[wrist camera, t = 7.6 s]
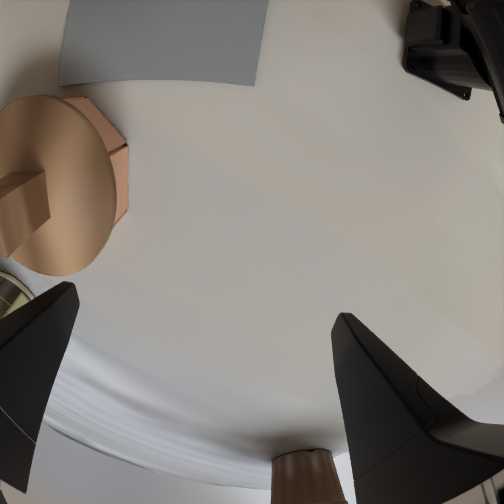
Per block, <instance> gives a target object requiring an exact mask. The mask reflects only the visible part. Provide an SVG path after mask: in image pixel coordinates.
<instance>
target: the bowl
mask: <svg viewBox="0 0 504 504" xmlns="http://www.w3.org/2000/svg"><path fill="white" fill-rule="evenodd" d="M63 100H65V101H67V102H68V103H70V104H72V105H73V106H75V107H76V108H77V109H79V110H80V111H81V112H82V113H83V114H84V115H85V116H86V117H87V118H88V119H89V120H90V121H91V123H92V124H93V125H94V127H95V128H96V129H97V131H98V133H99V135H100V136H101V138H102V140H103V142H104V144H105V146H106V149H107V151H108V153H109V156H110V159H111V163H112V166H113V170H114V175H115V180H116V191H117V207H116V215H115V220H114V224H113V227H114V226H115V225H116V224H117V222H118V221H119V220H120V219H121V218H122V216H123V215H124V214H125V213H126V212H127V210H126V209H127V208H128V207H129V202H128V146H123V145H124V144H125V143H126V142H127V141H126V140H125V139H124V138H123V137H122V136H121V135H120V133H119V132H118V131H117V130H116V129H115V128H114V127H113V125H112V124H111V123H110V122H109V121H108V120H107V119H106V117H105V116H104V115H103V114H102V113H101V112H100V111H99V109H98V108H97V107H96V106H95V105H94V104H93V102H92V101H91V100H90V99H89V98H85V97H75V98H66V99H63ZM112 229H113V228H112Z"/></svg>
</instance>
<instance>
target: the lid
mask: <svg viewBox="0 0 504 504" xmlns="http://www.w3.org/2000/svg"><path fill="white" fill-rule="evenodd" d="M116 207H117V191H116V180H115V175H114V170H113V166H112V163H111V159H110V156H109V153H108V151H107V149H106V146H105V144H104V142H103V140H102V138H101V136H100V135H99V133H98V131H97V129H96V128H95V127H94V125H93V124H92V123H91V121H90V120H89V119H88V118H87V117H86V116H85V115H84V114H83V113H82V112H81V111H80V110H79V109H77V108H76V107H75V106H73V105H72V104H70V103H68V102H67V101H65V100H63V99H60V98H57V97H53V96H47V95H37V96H30V97H25V98H21V99H18V100H16V101H14V102H12V103H10V104H8V105H7V106H6V107H4V108H3V109H2V110H1V111H0V256H1V257H7V258H8V257H9V256H11V257H12V258H14V259H15V260H16V261H17V262H19V263H20V264H22V265H23V266H25V267H27V268H28V269H30V270H32V271H35V272H37V273H40V274H44V275H49V276H66V275H71V274H74V273H76V272H79V271H80V270H82V269H84V268H85V267H87V266H88V265H89V264H90V263H91V262H93V260H94V259H95V258H96V257H97V255H98V254H99V253H100V251H101V250H102V249H103V247H104V246H105V244H106V242H107V240H108V238H109V236H110V234H111V231H112V228H113V224H114V220H115V215H116Z"/></svg>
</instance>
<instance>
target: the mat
mask: <svg viewBox="0 0 504 504" xmlns="http://www.w3.org/2000/svg"><path fill="white" fill-rule="evenodd" d="M267 5H268V0H71V2H70V6H69V11H68V16H67V21H66V26H65V31H64V38H63V44H62V51H61V59H60V69H59V80H58V87H60V86H67V85H75V84H84V83H94V82H106V81H122V80H190V81H207V82H219V83H230V84H239V85H247V86H254V83H255V77H256V71H257V64H258V58H259V52H260V46H261V40H262V34H263V28H264V22H265V16H266V10H267Z"/></svg>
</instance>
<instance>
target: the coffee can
mask: <svg viewBox="0 0 504 504" xmlns="http://www.w3.org/2000/svg"><path fill="white" fill-rule="evenodd" d="M34 298H35V297H34V296H33V294H32V293H31V292H30V291H29V290H28V289H27V288H26V287H25V286H24V285H23V284H22V283H21V282H20V281H18V280H17V279H15V278H14V277H12V276H11V275H9V274H6V273H4V272H0V319H1V318H3V317H5V316H6V315H8V314H9V313H11V312H13V311H14V310H16V309H17V308H19V307H21V306H22V305H24V304H26V303H27V302H29V301H31V300H32V299H34Z"/></svg>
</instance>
